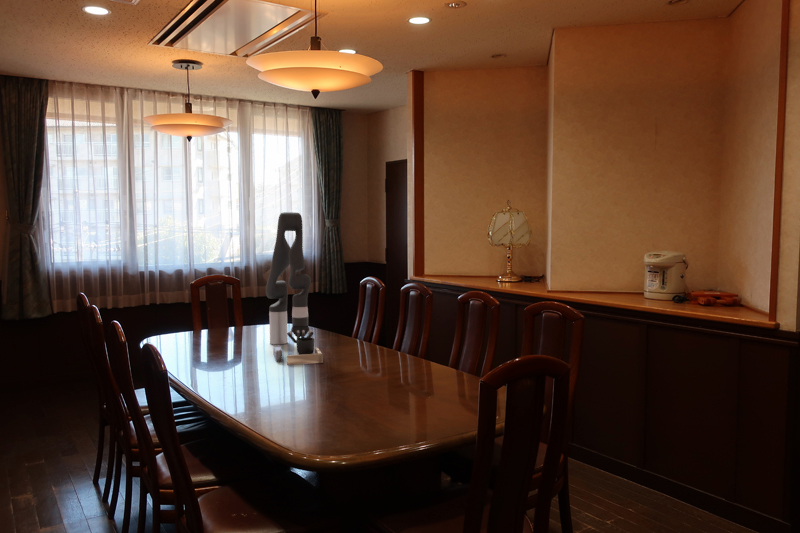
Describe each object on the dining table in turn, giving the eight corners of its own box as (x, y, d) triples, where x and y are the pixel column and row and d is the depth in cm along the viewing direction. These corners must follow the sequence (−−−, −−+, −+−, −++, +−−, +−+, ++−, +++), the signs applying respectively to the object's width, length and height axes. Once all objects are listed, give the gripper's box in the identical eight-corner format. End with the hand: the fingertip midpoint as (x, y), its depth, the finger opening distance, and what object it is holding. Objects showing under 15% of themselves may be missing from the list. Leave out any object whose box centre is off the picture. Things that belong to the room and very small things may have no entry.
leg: (282, 360, 276) (282, 351, 276) (275, 360, 275) (275, 351, 275) (280, 353, 290) (280, 345, 289) (273, 354, 289) (273, 345, 289)
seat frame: (284, 357, 282) (284, 349, 282) (318, 355, 286) (318, 347, 286) (287, 364, 268) (287, 356, 268) (322, 362, 272) (322, 353, 272)
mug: (306, 354, 288) (306, 335, 288) (317, 359, 278) (317, 339, 278) (290, 357, 284) (290, 337, 283) (301, 361, 274) (301, 341, 273)
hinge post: (276, 361, 275) (276, 350, 275) (281, 360, 276) (281, 349, 276) (276, 362, 273) (276, 351, 273) (282, 362, 274) (281, 350, 273)
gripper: (313, 314, 291) (313, 348, 292) (285, 315, 287) (286, 350, 289) (315, 316, 284) (315, 352, 285) (286, 317, 280) (287, 353, 282)
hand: (300, 351), depth 287 cm, fingers closed
